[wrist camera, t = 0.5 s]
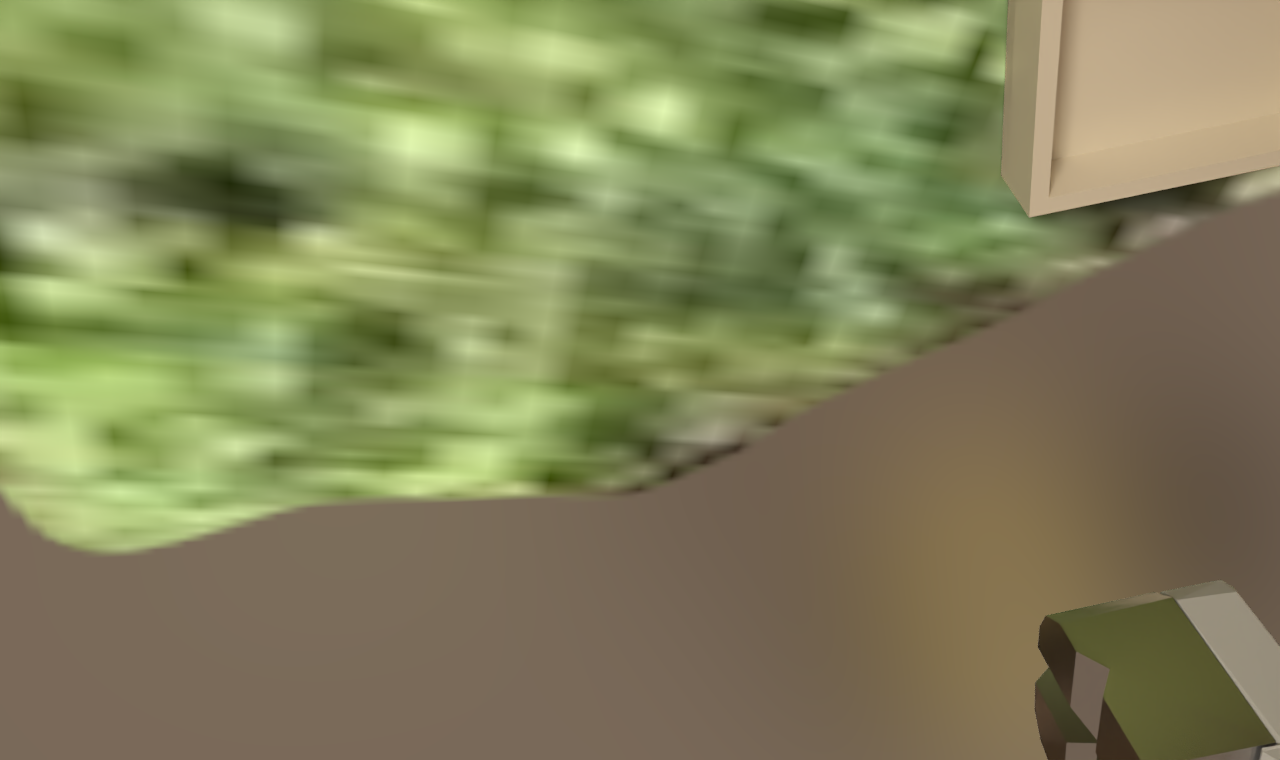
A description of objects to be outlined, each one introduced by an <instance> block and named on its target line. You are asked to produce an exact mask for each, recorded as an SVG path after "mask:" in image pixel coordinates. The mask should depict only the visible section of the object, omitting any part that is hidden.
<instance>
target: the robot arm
mask: <svg viewBox="0 0 1280 760" xmlns="http://www.w3.org/2000/svg"><path fill="white" fill-rule="evenodd" d="M1038 648H1039V650H1040V652H1041V654H1042V656H1043V657H1044V659H1045V661H1046V663H1047V665H1048V666H1049V667H1048V669H1047V670H1046V671H1045V672H1044V673H1043V674H1042V675H1041V677H1040V678H1039V679H1038V680H1037V681H1036V683H1035V714H1036V719H1037V724H1038V729H1039V734H1040V739H1041V743H1042V745H1043V748H1044V750H1045V753H1046V756H1047V759H1048V760H1280V645H1279V644H1278V643H1277V641H1276V640H1275V639H1274V638H1273V637H1272V635H1271V634H1270V633H1269V631H1268V630H1267V629H1266V628H1265V626H1264V625H1263V624H1262V622H1261V621H1260V620H1259V619H1258V617H1257V616H1256V615H1255V614H1254V612H1253V611H1252V610H1251V609H1250V607H1249V606H1248V605H1247V604H1246V602H1245V601H1244V600H1243V599H1242V597H1241V596H1240V595H1239V593H1238V592H1237V591H1236V590H1235V588H1234V587H1232V586H1230V585H1229V584H1227V583H1225V582H1224V581H1222V580H1217V581H1212V582H1207V583H1202V584H1197V585H1192V586H1187V587H1183V588H1178V589H1173V590H1168V591H1163V592H1161V593H1156V592H1153V593H1148V594H1143V595H1139V596H1135V597H1130V598H1125V599H1120V600H1116V601H1111V602H1107V603H1102V604H1098V605H1093V606H1088V607H1083V608H1079V609H1075V610H1070V611H1065V612H1061V613H1056V614H1051V615H1047V616H1045V618H1044V620H1043V621H1042V623H1041V625H1040V629H1039V641H1038Z"/></svg>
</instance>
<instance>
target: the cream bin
mask: <svg viewBox="0 0 1280 760" xmlns="http://www.w3.org/2000/svg"><path fill="white" fill-rule="evenodd" d="M1276 166H1280V0H1008V18H1007V43H1006V67H1005V92H1004V116H1003V141H1002V165H1001V176H1002V177H1003V179H1004V180H1005V182H1006V183H1007V185H1008V186H1009V188H1010V189H1011V191H1012V192H1013V194H1014V195H1015V197H1016V198H1017V200H1018V201H1019V203H1020V204H1021V206H1022V207H1023V209H1024V210H1025V212H1026V213H1027V215H1028V216H1029V217H1034V216H1039V215H1043V214H1048V213H1053V212H1058V211H1063V210H1068V209H1073V208H1077V207H1082V206H1087V205H1092V204H1097V203H1102V202H1106V201H1111V200H1116V199H1121V198H1126V197H1131V196H1136V195H1140V194H1145V193H1150V192H1155V191H1160V190H1165V189H1169V188H1174V187H1179V186H1184V185H1189V184H1194V183H1198V182H1203V181H1208V180H1213V179H1218V178H1223V177H1228V176H1232V175H1237V174H1242V173H1247V172H1252V171H1257V170H1261V169H1266V168H1271V167H1276Z"/></svg>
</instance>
